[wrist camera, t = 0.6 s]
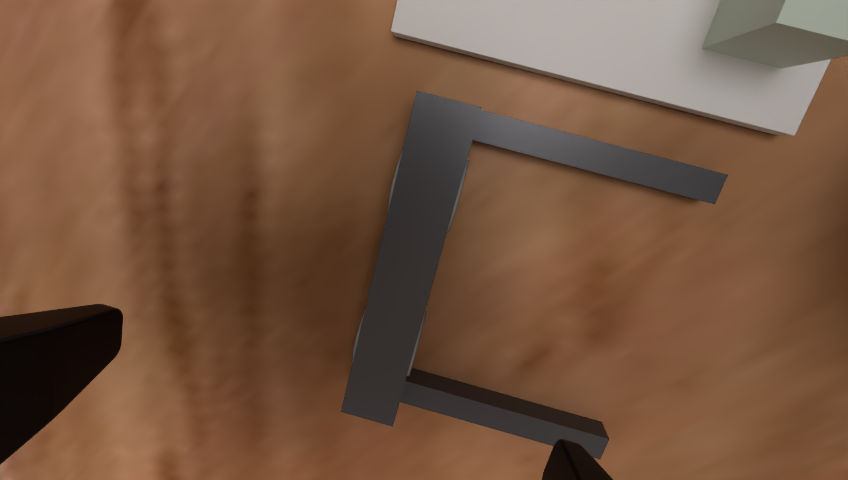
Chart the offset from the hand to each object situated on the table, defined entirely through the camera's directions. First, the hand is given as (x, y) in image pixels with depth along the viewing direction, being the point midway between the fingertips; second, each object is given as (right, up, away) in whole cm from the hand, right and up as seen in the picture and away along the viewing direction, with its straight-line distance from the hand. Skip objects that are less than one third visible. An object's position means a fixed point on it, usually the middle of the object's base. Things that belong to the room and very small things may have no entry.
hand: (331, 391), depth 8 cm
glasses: (+6, +1, +12) cm, 13 cm away
